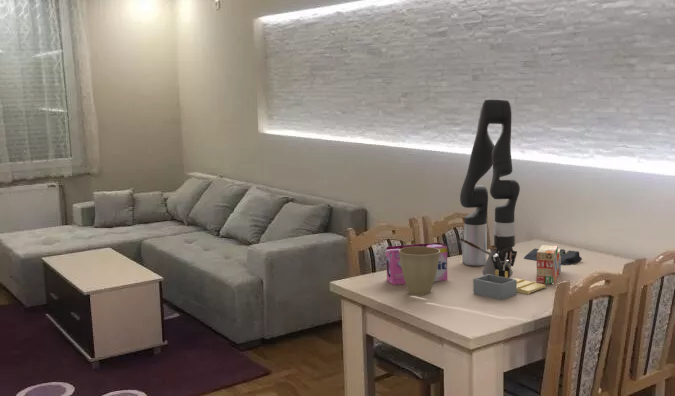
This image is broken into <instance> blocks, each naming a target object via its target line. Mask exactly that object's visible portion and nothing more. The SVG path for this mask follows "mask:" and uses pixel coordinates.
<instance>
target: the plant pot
mask: <svg viewBox="0 0 675 396" xmlns="http://www.w3.org/2000/svg"><path fill="white" fill-rule="evenodd" d="M399 256H400V262H401V268H402V272H403V276H404V279H405V282H406V284H405V286H406V288H407V291H408V293H409V294H410V295H411V294H412V295H415V296H416V295H421V296H423V295H428V294H430V293H431V291H432V288H433V285H434V282H435V281H434V279H435V276H436V272H437V268H438V263H439V256H440V250H439V249H437V248H432V247H420V246H417V247H405V248H402V249H400V250H399Z"/></svg>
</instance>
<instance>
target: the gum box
mask: <svg viewBox="0 0 675 396" xmlns="http://www.w3.org/2000/svg"><path fill="white" fill-rule="evenodd" d="M417 246H420V247H432V248H437V249H439V250H440V256H439V263H438V268H437V272H436V276H435V279H434V282H441V281H447V280H448V245H446V244H444V243H442V242H428V243H426V242H425V243H417V244H414V243H413V244H406V245H405V244H404V245H393V246H386V247H385V259H386V281H388V283H390V284H391V285H393V286H394V285H404V284H405V285H406V282H405V279H404V276H403V272H402V268H401V262H400V256H399V250H400V249H402V248H405V247H417Z"/></svg>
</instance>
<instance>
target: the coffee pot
mask: <svg viewBox="0 0 675 396" xmlns="http://www.w3.org/2000/svg"><path fill="white" fill-rule="evenodd" d="M463 241H464V243H467V244H468V245H470V246H472V247H474V248H476V249H479V250H481V251H483V252H485V253H486V254H487V255H488V258H487V261H486V264H485V265H483V269H482V271H481V272H482V273H481V274H482V276H484V275H487V274H490V275H495V270H498V269H495V268H494V265H493V261H492V258H491V257H492V256H495V254H496V250H497V248H496V246H494V244H493V245H490V246H488V248H489V250H490V251H488V250H487V251H486V250H483V249H481V248H480V247H478V246H476V245H475V244H473V243H471V242H468V241H467V240H464V238H460V239H459V240H458V244H460V243H461V242H463ZM501 262H502V261H501ZM497 266H498V265H497ZM501 266H502V264H501ZM513 273H514V271H513V270H512V267H511V268H510V278H511V276H513Z"/></svg>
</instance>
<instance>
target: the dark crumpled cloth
mask: <svg viewBox="0 0 675 396" xmlns="http://www.w3.org/2000/svg"><path fill="white" fill-rule="evenodd" d="M539 249H540V248H533V249H532V250H530V251H529V252H528V253H527V254H525V256H524V257H523V259H524V260H528V261H529V260H530V261H535V262H537V251H538V250H539ZM560 249H561V266H570V265H572V264H577V263H578V262H580V261H581V260H582V259H583V258H582V256H580V251H578V250H576V251H575V250H568V251H566V250H565V248H564V249H563V248H560Z"/></svg>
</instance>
